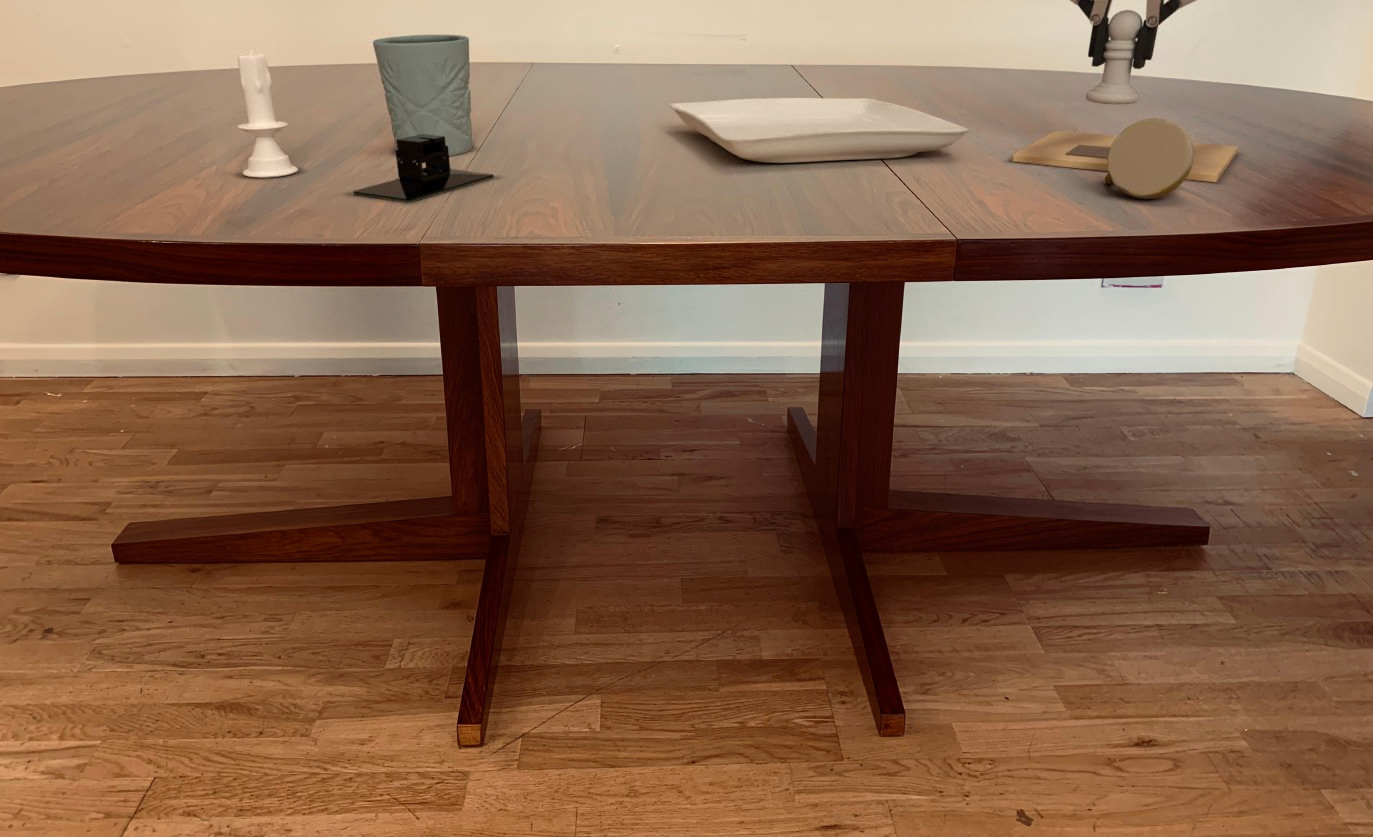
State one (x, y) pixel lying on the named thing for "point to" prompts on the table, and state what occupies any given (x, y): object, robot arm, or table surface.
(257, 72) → the candle
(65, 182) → the table surface
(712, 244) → the table surface
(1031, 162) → the board
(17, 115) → the table surface
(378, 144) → the table surface
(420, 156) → the motor on base plate
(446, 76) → the drinking glass
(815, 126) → the square plate
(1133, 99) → the chess piece
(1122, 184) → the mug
